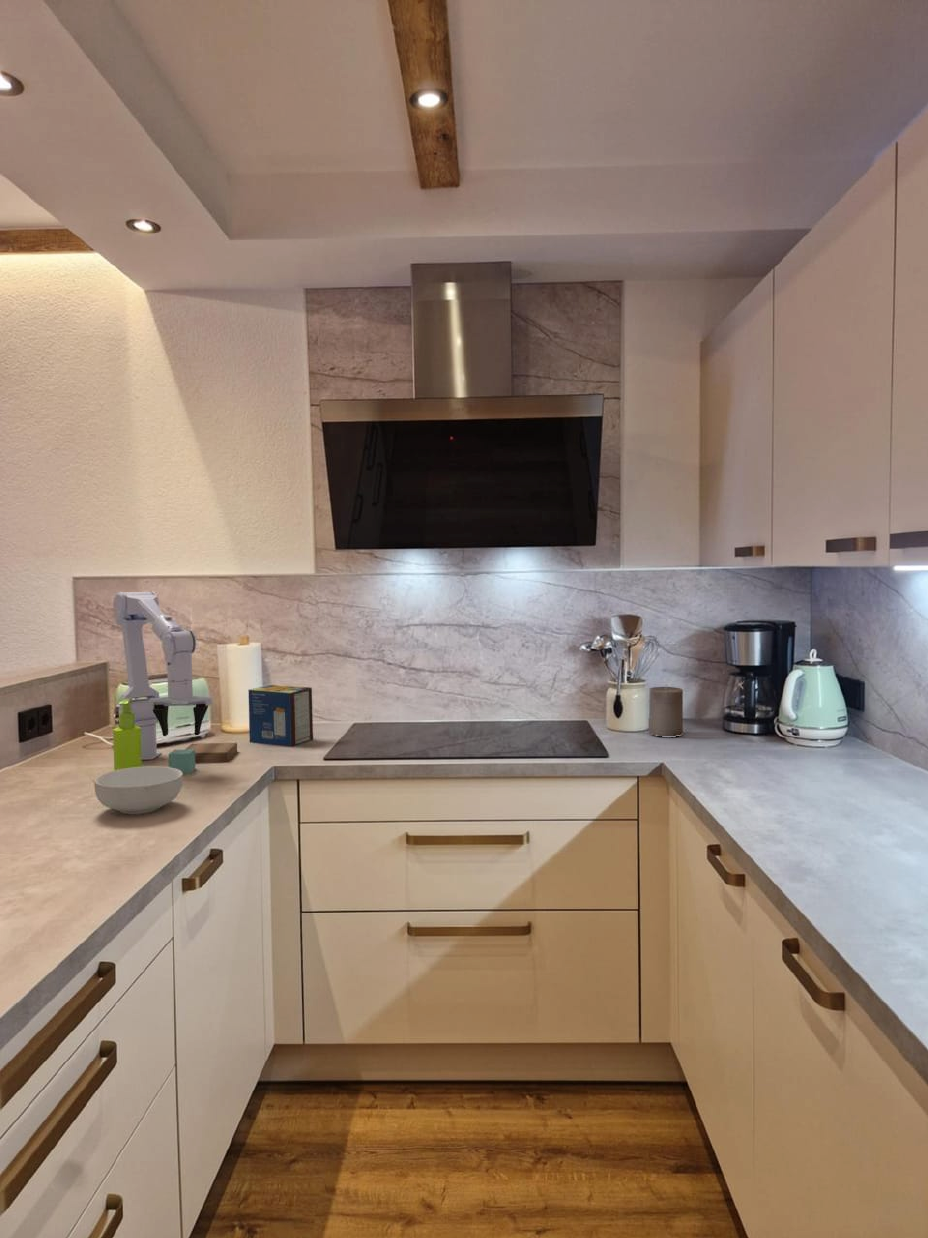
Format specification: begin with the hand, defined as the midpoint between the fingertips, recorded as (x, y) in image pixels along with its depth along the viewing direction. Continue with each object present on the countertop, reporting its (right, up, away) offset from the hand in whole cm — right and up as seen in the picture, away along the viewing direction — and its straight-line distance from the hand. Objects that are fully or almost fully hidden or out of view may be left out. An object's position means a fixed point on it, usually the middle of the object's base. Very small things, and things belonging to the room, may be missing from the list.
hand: (181, 735), depth 197 cm
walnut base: (+2, -9, +16) cm, 18 cm away
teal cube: (0, -9, +1) cm, 9 cm away
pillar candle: (+129, -6, +40) cm, 136 cm away
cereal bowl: (+2, -11, -31) cm, 33 cm away
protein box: (+16, -7, +36) cm, 40 cm away
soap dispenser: (-8, -10, -12) cm, 18 cm away
